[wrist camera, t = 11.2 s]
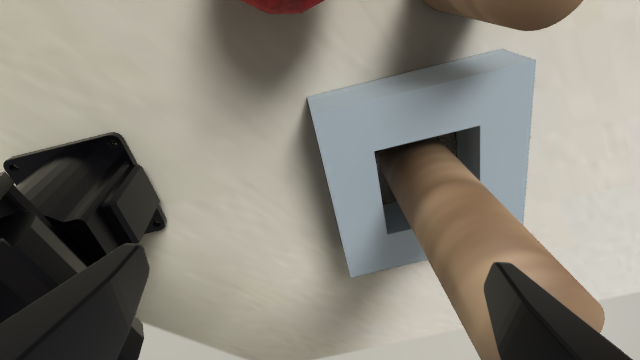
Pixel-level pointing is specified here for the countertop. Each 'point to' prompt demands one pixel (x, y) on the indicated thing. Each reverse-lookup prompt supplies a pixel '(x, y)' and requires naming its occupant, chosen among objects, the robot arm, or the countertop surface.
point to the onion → (283, 5)
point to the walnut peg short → (510, 11)
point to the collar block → (417, 124)
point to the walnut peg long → (472, 237)
